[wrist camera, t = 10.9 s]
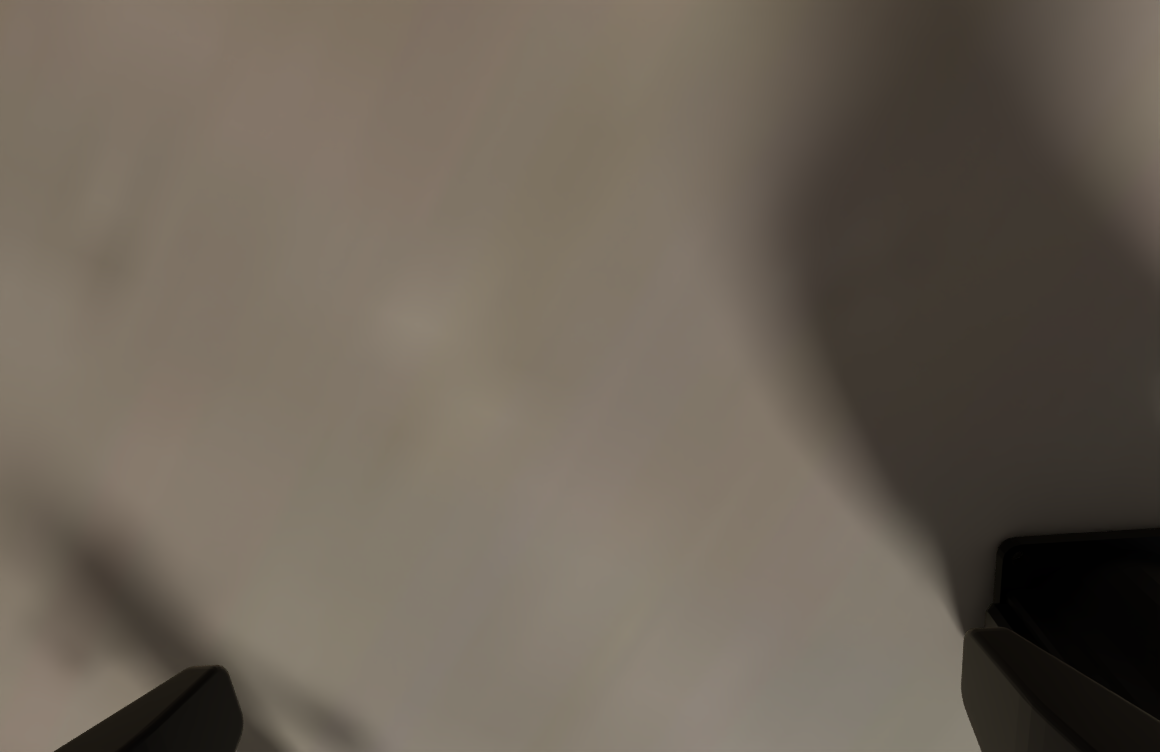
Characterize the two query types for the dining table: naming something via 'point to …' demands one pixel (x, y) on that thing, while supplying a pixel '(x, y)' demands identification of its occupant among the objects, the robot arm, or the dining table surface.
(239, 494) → the dining table surface
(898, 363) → the dining table surface
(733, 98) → the dining table surface
